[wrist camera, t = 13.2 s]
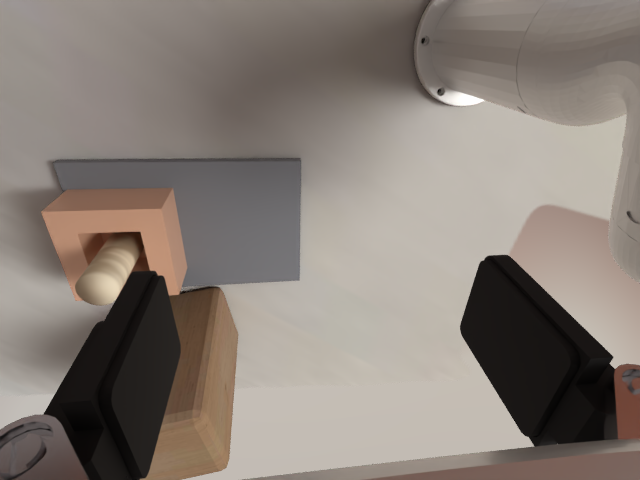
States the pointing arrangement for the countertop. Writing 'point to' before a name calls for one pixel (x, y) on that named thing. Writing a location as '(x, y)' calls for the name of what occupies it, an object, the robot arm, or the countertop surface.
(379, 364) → the countertop surface
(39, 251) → the countertop surface
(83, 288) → the birch dowel
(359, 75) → the countertop surface
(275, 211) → the charcoal mat
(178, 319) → the wooden block
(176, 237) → the terracotta box
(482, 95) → the robot arm
